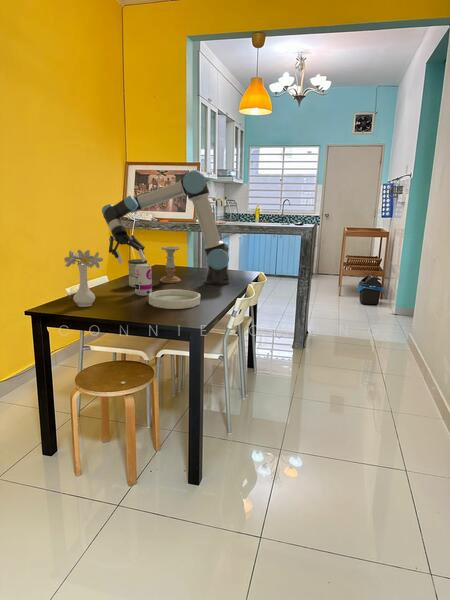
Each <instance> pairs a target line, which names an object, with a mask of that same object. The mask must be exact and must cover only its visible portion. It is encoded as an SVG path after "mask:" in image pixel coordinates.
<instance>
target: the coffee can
mask: <svg viewBox="0 0 450 600" xmlns="http://www.w3.org/2000/svg"><path fill="white" fill-rule="evenodd" d="M127 262H128V263H127V264H128V286H129V287H130V286H131V287H130V288H135V267H136V265H137V264H148V260H147V259H145V261H144V262H143V261H142V259H141V258H138V259H137V258H135V259H128V260H127Z"/></svg>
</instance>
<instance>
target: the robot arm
mask: <svg viewBox="0 0 450 600" xmlns="http://www.w3.org/2000/svg"><path fill="white" fill-rule="evenodd" d="M209 195H210V191H209V188H208V183H207V180H206V177H205V175H204V174H203V173H202V171H199V170H197V169H196V170H195V169H194V170H190V171H188V172H187V173H186V174H185V175H184V176H183V178H181V179H179V181H177V182H174V183H171V184H168V185H166V186H163V187H160V188H157V189H154V190H152V191H151V190H150V191H149V192H145V193H144V194H140V195H138V196H133V195H131V194H130V195H128V196H126V197H124V198H122V200H120V201H119V202H118V203H115V204H112V203H110V204H109V203H108V204H106V205H104V206H103V207H102V208H101V213H102V216H103V219H104V220H105V222H106V224H107V227H108V228H109V231H110V232H111V235H110V236H109V238H108V240H109V246H108V253H109V254H112V255H113V256H114V258H115V259H117V262H118V264H119V265H121V264H122V263H123V259H122V256H121V254H120V252H119V250H117V249H118V247H119V245H120V246H121V245H122V246H123V245H127V246H130V247H132V248H133V249H134V250H136V251H138V252H137V253H138V255H139V257H140V259H142V261H143V262H144V261H145V260H147V258H146V256H145V252H144V251H145V248H146V247H145V245H143V244H142V243H141V242H140V241H139V240H138V239H137V238H136V237H135V236H134V235H133V234H132V235H129V234H128V232H127V229H126V227H125V225H124V222H122V218H124V217H125V216H127V215H128V214H131V213H132V214H133V213H136V212H138V211H141V210H145V209H147V208H150V207H153V206H155V205H159V204H161V203H163V202H167V201H170V200H172V199H175V198H179V197H182V196H185V197H186V196H187V197H188V198H187V199H188V200H189V201H190V202H192V205H193V208H194V212H195V214H196V218H197V221H198V224H199V227H200V230H201V234H202V237H203V240H204V244H205V245H204V247H203V249H204V253H205V256H206V262H207V271H206V273H205V277H204V283H206V284H209V285H217V286H218V285H219V286H221V285H223V286H224V285H229V284H230V283H231V277H230V273H229V269H228V267H229V266H228V264H229V261H230V256H229V249H230V248H229V245H228V244H227V243H225V242H224V241H223V240H221V236H220V234H219V230H218V227H217V223H216V220H215V217H214V214H213V211H212V207H211V204H210V200H209V198H208V197H209ZM114 241H115V242H116V244H115V246H114ZM113 247H114V248H113Z"/></svg>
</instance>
